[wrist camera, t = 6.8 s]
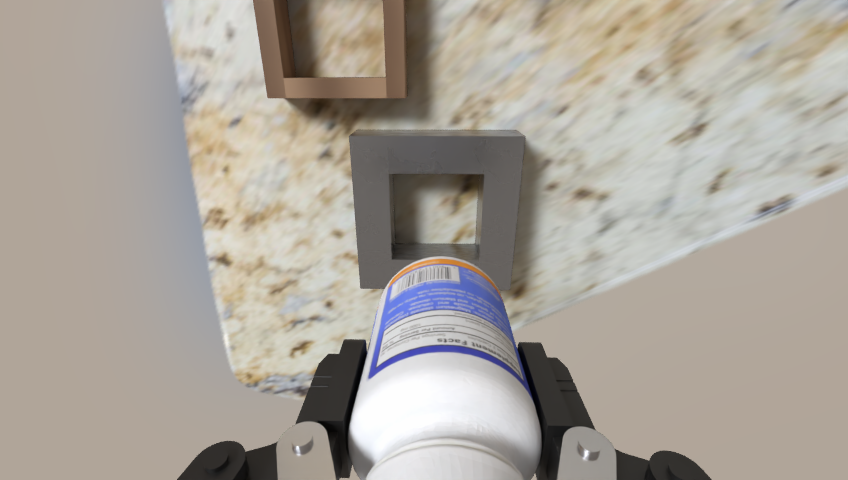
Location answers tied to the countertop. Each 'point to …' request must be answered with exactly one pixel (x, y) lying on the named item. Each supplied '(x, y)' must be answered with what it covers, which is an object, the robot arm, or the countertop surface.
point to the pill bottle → (443, 383)
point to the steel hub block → (435, 154)
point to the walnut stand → (286, 85)
